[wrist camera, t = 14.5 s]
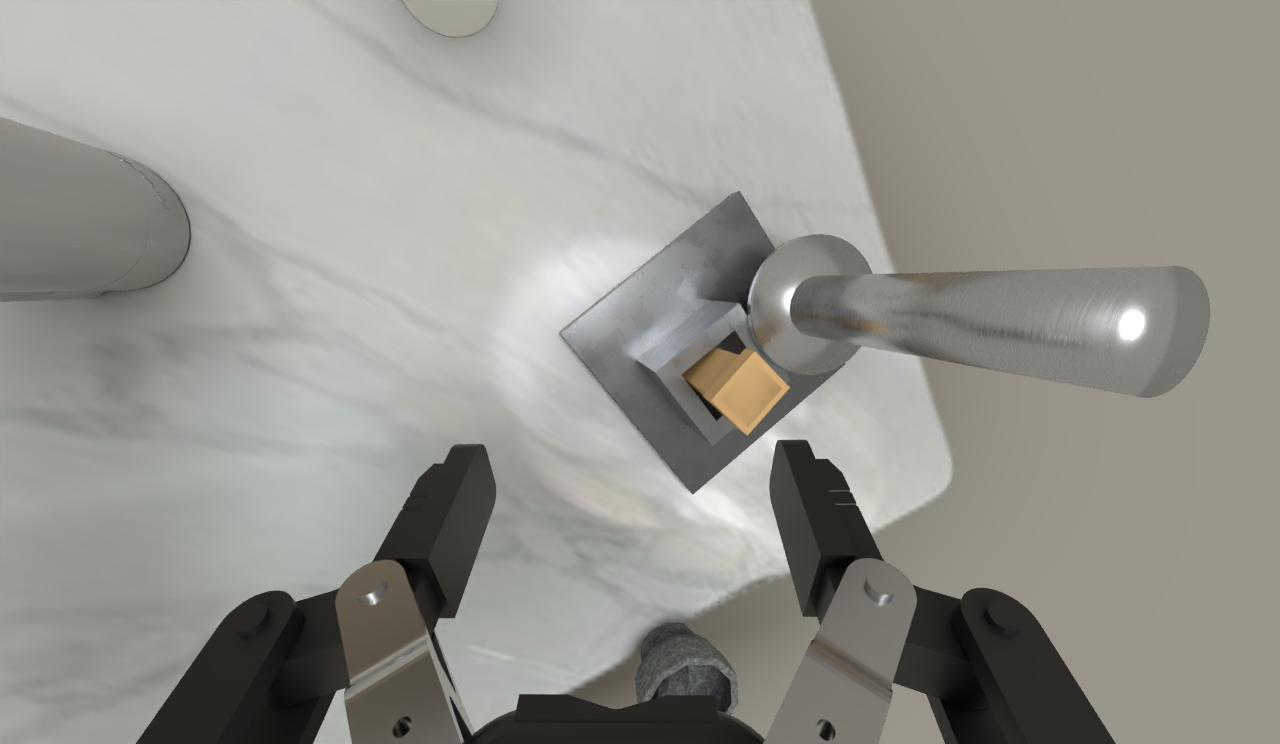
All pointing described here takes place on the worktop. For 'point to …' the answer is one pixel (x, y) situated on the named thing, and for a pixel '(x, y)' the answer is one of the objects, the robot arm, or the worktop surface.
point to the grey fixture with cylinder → (864, 327)
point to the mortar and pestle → (684, 668)
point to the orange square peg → (736, 385)
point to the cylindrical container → (453, 15)
